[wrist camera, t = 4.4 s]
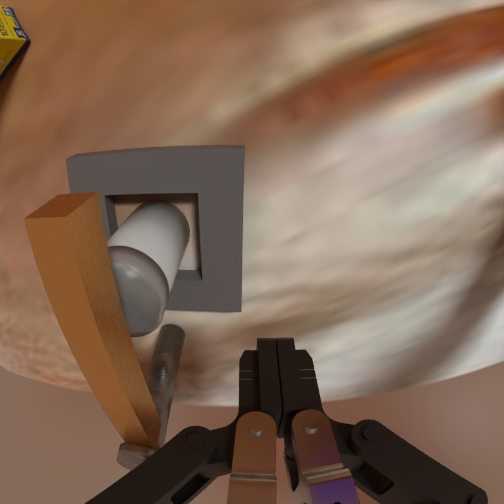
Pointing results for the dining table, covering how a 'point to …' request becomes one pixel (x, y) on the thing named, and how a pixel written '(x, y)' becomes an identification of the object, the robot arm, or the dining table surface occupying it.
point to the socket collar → (180, 181)
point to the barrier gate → (103, 323)
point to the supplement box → (10, 39)
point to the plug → (147, 262)
